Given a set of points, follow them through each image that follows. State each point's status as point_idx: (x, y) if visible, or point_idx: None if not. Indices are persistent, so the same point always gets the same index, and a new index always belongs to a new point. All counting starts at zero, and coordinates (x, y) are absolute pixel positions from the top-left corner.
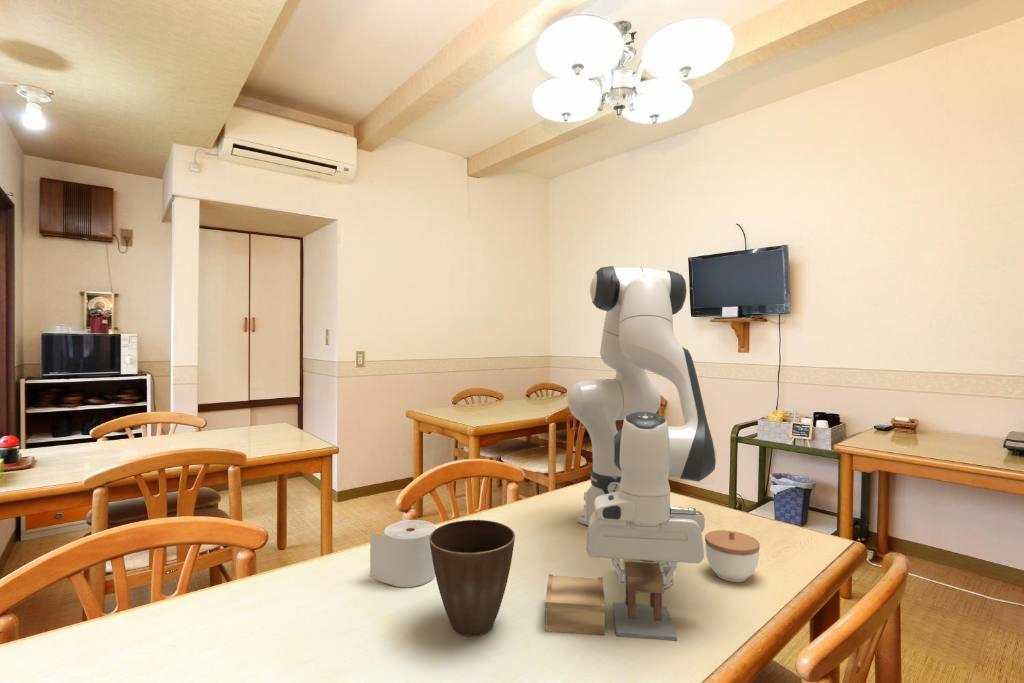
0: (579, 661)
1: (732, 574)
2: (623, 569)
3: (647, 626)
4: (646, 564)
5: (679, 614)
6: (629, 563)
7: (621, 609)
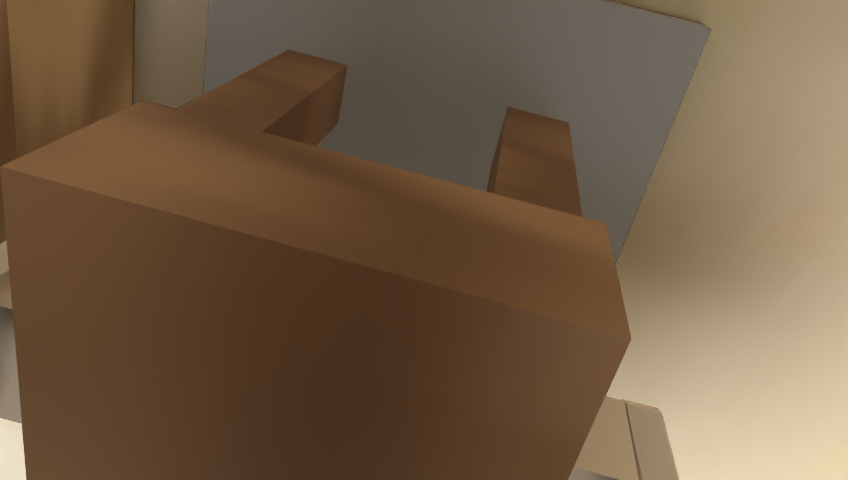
0: (4, 443)
1: None
2: (12, 315)
3: None
4: (381, 339)
5: (769, 117)
6: (81, 253)
7: (272, 42)
